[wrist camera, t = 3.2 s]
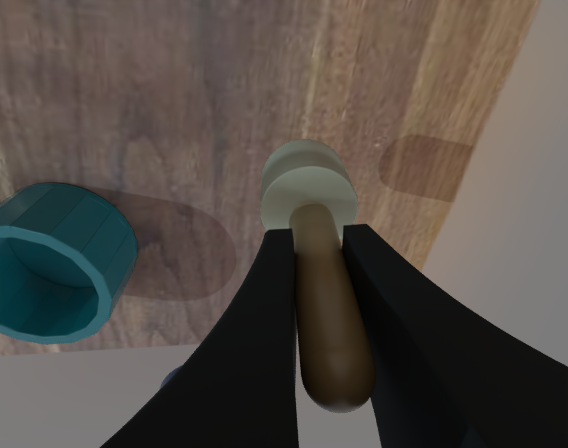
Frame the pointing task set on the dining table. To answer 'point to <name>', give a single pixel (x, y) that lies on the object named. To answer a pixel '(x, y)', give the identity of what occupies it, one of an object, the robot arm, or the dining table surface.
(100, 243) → the cup
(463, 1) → the dining table surface
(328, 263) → the brush
